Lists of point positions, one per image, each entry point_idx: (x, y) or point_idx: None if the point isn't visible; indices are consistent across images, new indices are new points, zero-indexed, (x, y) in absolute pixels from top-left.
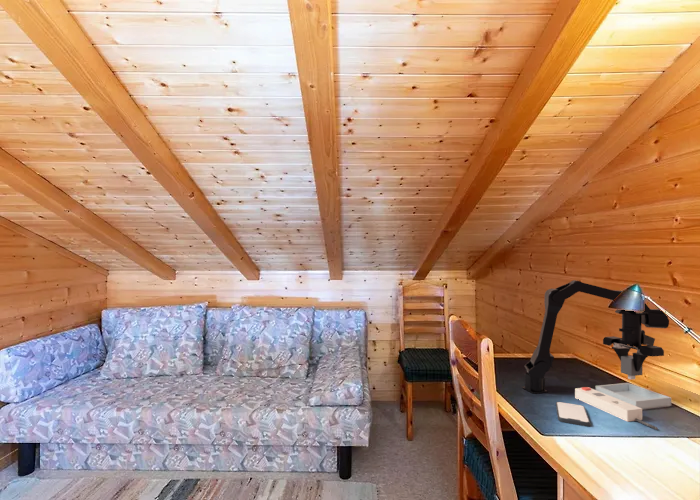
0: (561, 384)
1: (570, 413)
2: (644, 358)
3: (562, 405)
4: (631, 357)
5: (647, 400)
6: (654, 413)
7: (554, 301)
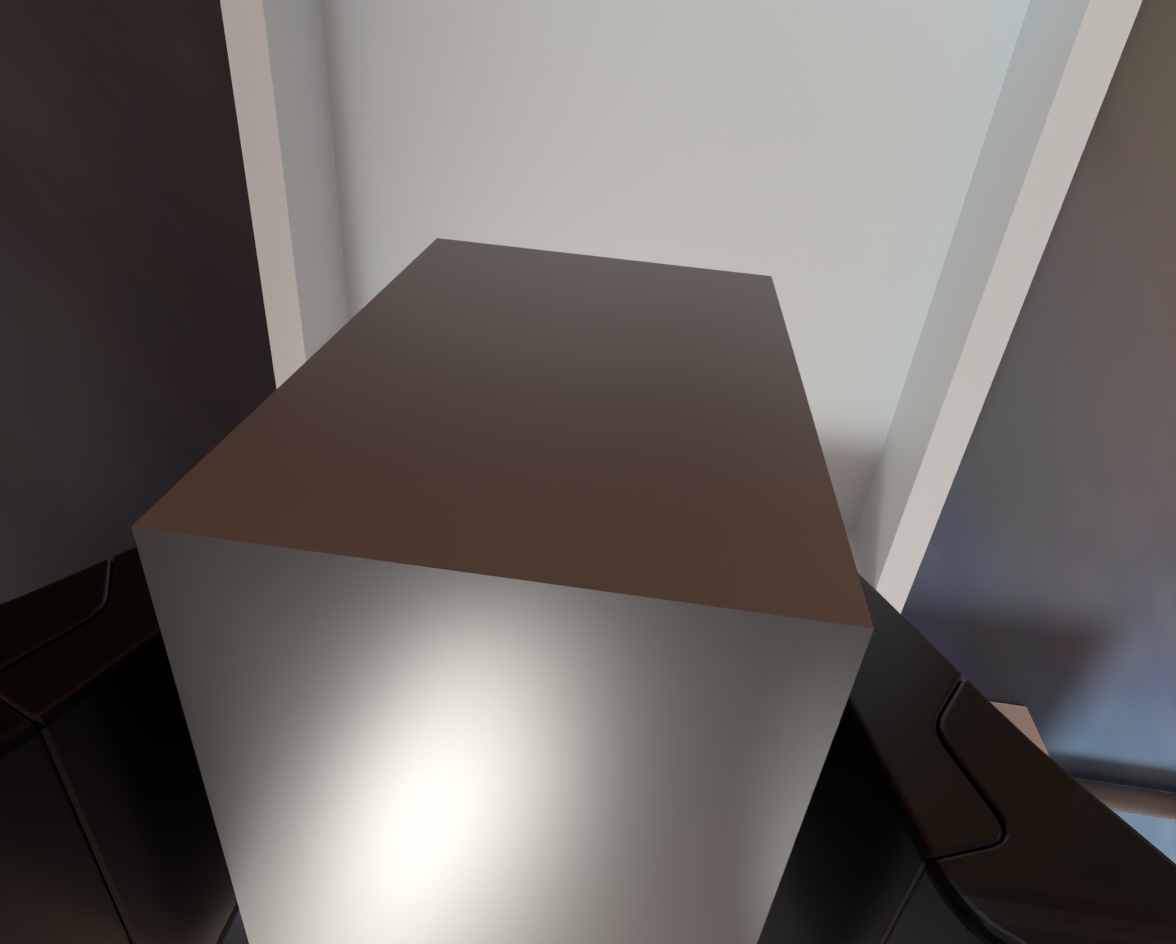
0: (18, 546)
1: None
2: (1159, 928)
3: None
4: (531, 897)
5: (962, 451)
6: (1040, 453)
7: None
